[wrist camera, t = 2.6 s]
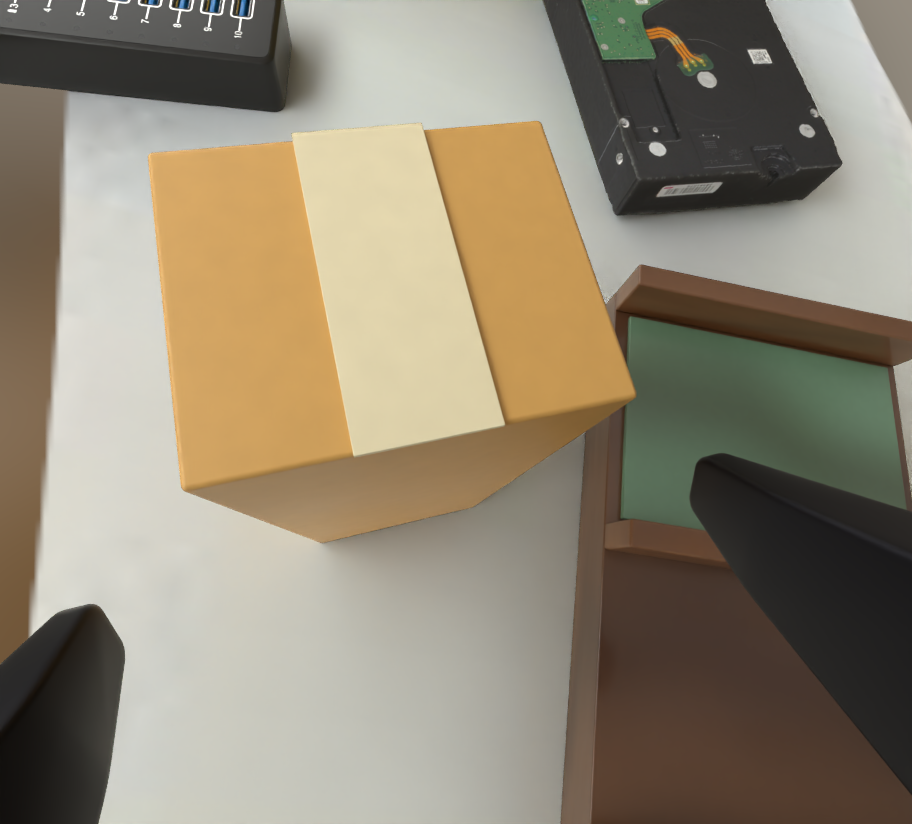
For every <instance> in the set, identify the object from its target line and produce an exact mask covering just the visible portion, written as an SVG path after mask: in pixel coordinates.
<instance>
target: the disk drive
mask: <svg viewBox="0 0 912 824" xmlns="http://www.w3.org/2000/svg"><path fill="white" fill-rule="evenodd" d="M543 3H544V5H545V8H546V11H547V14H548V17H549V21H550V23H551V26H552V29H553V33H554V36H555V39H556V42H557V46H558V47H559V52H560V54H561V58H562V61H563V63H564V67H565V69H566V72H567V75H568V78H569V80H570V84H571V87H572V90H573V93H574V96H575V99H576V102H577V106H578V108H579V112H580V115H581V118H582V121H583V124H584V128H585V130H586V133H587V136H588V139H589V142H590V145H591V149H592V151H593V154H594V157H595V160H596V163H597V166H598V169H599V172H600V175H601V178H602V180H603V183H604V186H605V190H606V193H608V197H609V200H610V202H611V204H613V207H612V208H613V211H614V213H615V214H616V215H625V214H649V213H663V212H674V211H684V210H696V209H697V210H698V209H706V208H707V209H708V208H720V207H731V206H743V205H754V204H768V203H776V202H779V201H785V200H787V201H789V200H802V199H804V198H805V197H807V196H808V195H809V194H810V193H811V192H812V191H813V190H815V189H816V188H817V187H818V186H819V185H820V184H821V183H822V182H824V181H825V180H826V179H827V178H828V177H829V176H830V175H831V174H832V173H834V172H835V171H836V170H837V169H838V168H839V167H840V166H841V165H842V161H841V159H840V157H839V155H838V153H837V149H836V146H835V144H834V141H833V138H832V137H831V135H830V133H829V131H828V128H827V126H826V125H825V122H824V120H823V119H822V117H820V116H818V110H817V108H816V105H815V103H814V101H813V99H812V97H811V94H810V93H809V92H808V90H807V88H806V85H805V84H804V81H803V78H802V77H801V75H800V73H799V71H798V69H797V67H796V64H795V62H794V60H793V59H792V57H791V54H790V53H789V50H788V49H787V47H786V44H785V42H784V41H783V39H782V36H781V33H780V31H779V30H778V27H777V24H775V23H774V20H773V17H772V15H771V12H769V8H768V7H767V6H766V2H765V0H543Z"/></svg>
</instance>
